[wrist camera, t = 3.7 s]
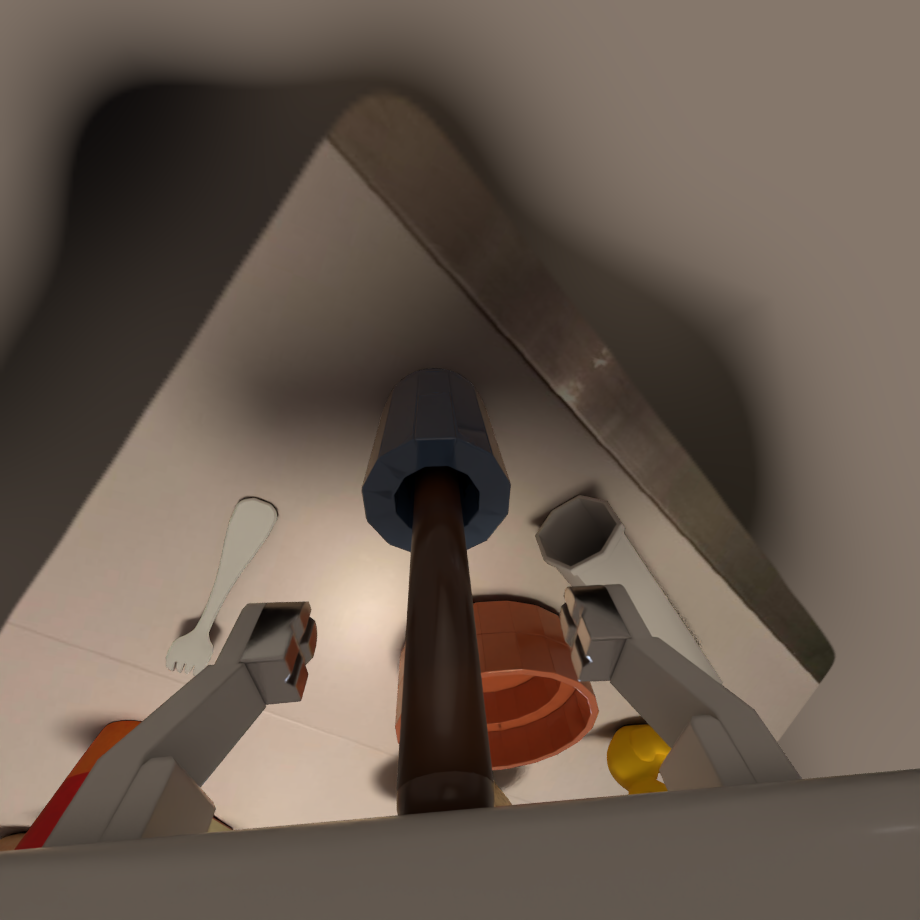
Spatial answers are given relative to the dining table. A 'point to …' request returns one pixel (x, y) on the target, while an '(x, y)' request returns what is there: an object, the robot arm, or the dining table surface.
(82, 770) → the paper cup
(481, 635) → the orange round shallow dish
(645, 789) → the duckling
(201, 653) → the fork
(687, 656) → the tube
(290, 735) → the dining table surface
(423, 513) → the stirring stick
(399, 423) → the crock
